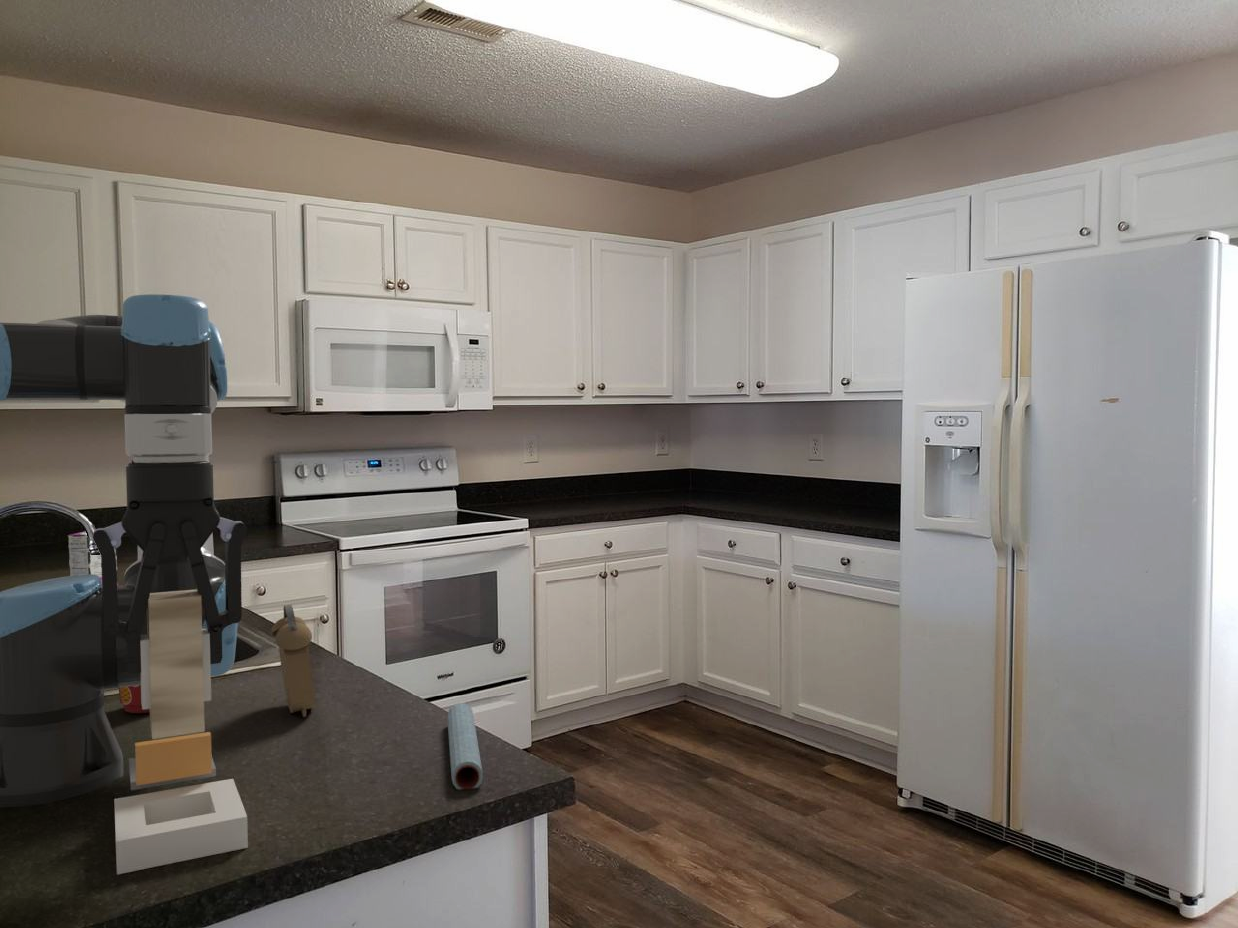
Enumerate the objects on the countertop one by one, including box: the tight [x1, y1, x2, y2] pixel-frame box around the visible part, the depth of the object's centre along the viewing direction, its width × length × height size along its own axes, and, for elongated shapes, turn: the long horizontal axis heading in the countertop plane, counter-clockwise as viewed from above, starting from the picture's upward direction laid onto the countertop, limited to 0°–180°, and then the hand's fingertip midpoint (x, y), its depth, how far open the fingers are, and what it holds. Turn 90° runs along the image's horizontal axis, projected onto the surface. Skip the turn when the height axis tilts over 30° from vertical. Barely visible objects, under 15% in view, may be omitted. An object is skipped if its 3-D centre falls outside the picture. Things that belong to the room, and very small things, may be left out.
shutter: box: [128, 731, 217, 791], centre depth 101 cm, size 8×9×5 cm
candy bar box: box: [67, 528, 119, 586], centre depth 213 cm, size 11×5×16 cm, turn 179°
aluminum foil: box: [446, 702, 484, 790], centre depth 116 cm, size 23×7×3 cm, turn 11°
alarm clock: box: [271, 604, 316, 718], centre depth 133 cm, size 11×5×15 cm, turn 25°
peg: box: [147, 589, 206, 740], centre depth 91 cm, size 4×4×13 cm
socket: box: [114, 778, 249, 875], centre depth 92 cm, size 11×11×3 cm
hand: (176, 700), depth 92 cm, fingers closed on peg, 4 cm apart
